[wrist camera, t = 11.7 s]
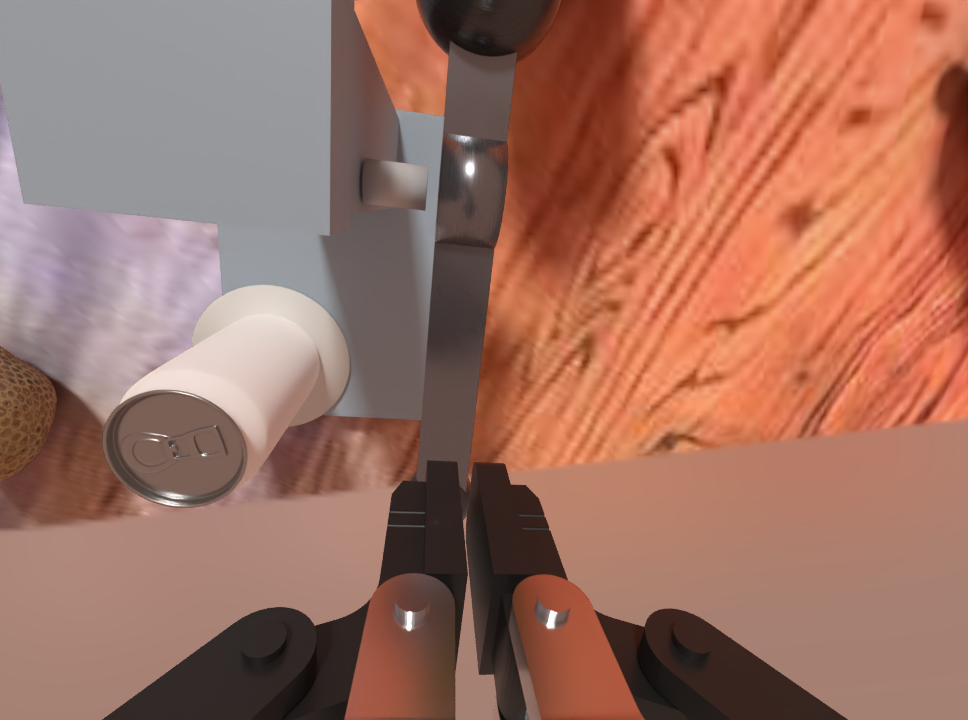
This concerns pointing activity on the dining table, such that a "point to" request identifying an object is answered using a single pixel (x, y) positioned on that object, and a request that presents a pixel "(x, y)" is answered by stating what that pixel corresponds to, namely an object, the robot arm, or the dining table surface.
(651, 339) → the dining table surface
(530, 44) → the lever
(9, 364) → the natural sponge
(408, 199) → the press
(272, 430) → the can
